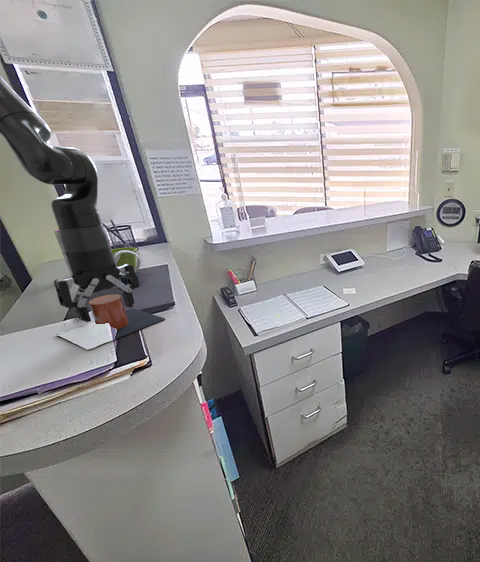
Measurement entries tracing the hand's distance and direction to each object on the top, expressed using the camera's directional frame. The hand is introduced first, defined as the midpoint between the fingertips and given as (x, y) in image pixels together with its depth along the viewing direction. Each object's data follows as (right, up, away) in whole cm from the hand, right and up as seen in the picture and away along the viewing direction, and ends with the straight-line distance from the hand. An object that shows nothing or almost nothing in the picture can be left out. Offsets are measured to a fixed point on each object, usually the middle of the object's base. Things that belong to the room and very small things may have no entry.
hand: (109, 313), depth 73 cm
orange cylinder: (0, -3, +1) cm, 3 cm away
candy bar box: (-40, +11, +39) cm, 57 cm away
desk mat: (0, -3, +1) cm, 4 cm away
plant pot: (-27, +10, +38) cm, 48 cm away
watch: (-18, +7, +29) cm, 35 cm away
